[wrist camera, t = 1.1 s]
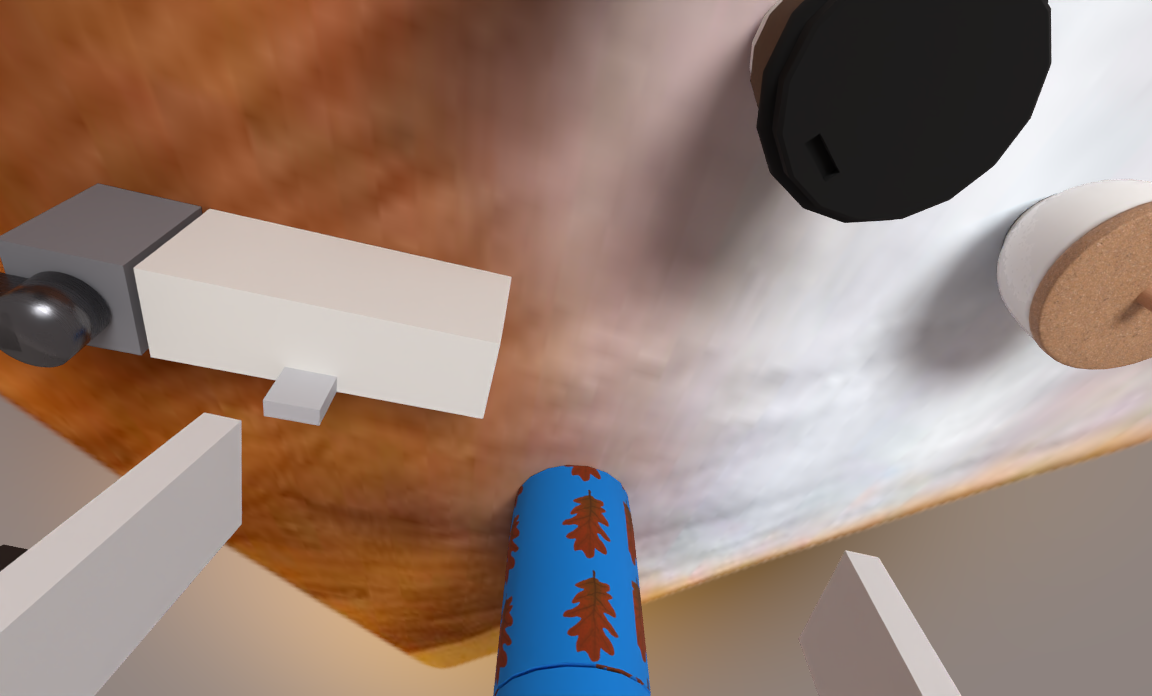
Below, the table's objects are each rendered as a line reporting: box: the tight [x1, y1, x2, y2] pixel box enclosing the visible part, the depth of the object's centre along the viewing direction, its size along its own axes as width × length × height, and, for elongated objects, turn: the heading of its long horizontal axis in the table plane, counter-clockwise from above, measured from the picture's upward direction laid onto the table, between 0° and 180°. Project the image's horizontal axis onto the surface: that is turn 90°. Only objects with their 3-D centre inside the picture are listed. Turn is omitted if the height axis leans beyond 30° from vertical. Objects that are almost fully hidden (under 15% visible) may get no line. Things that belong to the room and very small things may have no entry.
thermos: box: [493, 465, 650, 696], centre depth 44 cm, size 11×11×25 cm
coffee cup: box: [749, 0, 1051, 223], centre depth 27 cm, size 11×11×12 cm
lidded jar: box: [997, 179, 1152, 369], centre depth 35 cm, size 11×11×9 cm
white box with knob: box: [0, 184, 512, 426], centre depth 35 cm, size 6×26×11 cm, turn 75°
